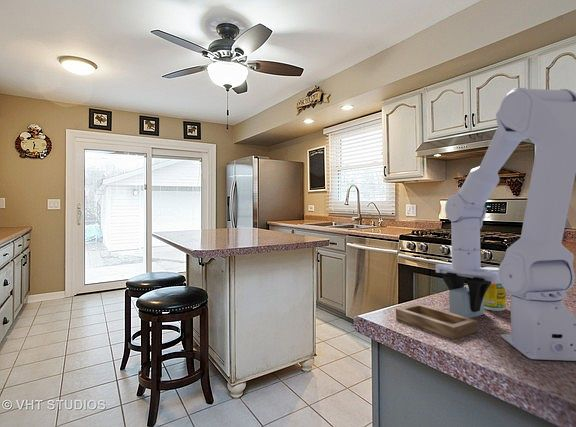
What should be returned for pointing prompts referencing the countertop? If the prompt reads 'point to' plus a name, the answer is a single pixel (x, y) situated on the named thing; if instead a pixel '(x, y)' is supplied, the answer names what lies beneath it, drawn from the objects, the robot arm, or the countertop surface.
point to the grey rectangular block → (463, 303)
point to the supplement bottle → (495, 295)
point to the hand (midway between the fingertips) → (466, 308)
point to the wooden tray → (437, 320)
